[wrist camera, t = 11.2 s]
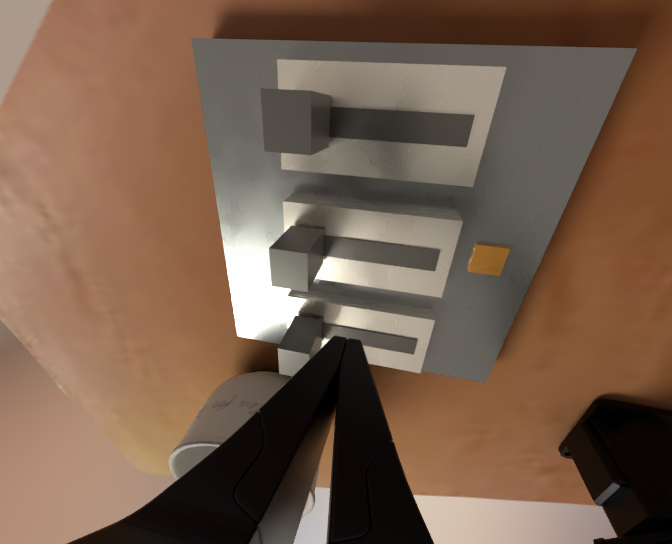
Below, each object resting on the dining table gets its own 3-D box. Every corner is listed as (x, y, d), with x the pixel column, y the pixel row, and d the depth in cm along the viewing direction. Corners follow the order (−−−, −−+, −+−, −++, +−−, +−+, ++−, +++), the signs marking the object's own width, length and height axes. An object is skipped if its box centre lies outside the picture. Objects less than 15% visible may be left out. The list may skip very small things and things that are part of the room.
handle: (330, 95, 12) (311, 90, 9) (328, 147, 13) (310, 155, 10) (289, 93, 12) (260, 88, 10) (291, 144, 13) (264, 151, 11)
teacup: (302, 342, 23) (260, 439, 16) (353, 428, 27) (337, 534, 20) (181, 368, 28) (110, 451, 21) (240, 437, 32) (196, 525, 25)
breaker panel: (612, 55, 12) (660, 41, 10) (480, 366, 21) (489, 396, 18) (210, 44, 14) (174, 32, 12) (246, 323, 23) (230, 346, 21)
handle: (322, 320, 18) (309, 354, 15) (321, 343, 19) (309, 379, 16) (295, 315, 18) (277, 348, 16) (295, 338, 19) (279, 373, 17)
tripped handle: (324, 229, 15) (308, 253, 12) (323, 263, 16) (307, 291, 13) (291, 225, 15) (268, 248, 13) (292, 258, 16) (271, 286, 14)
